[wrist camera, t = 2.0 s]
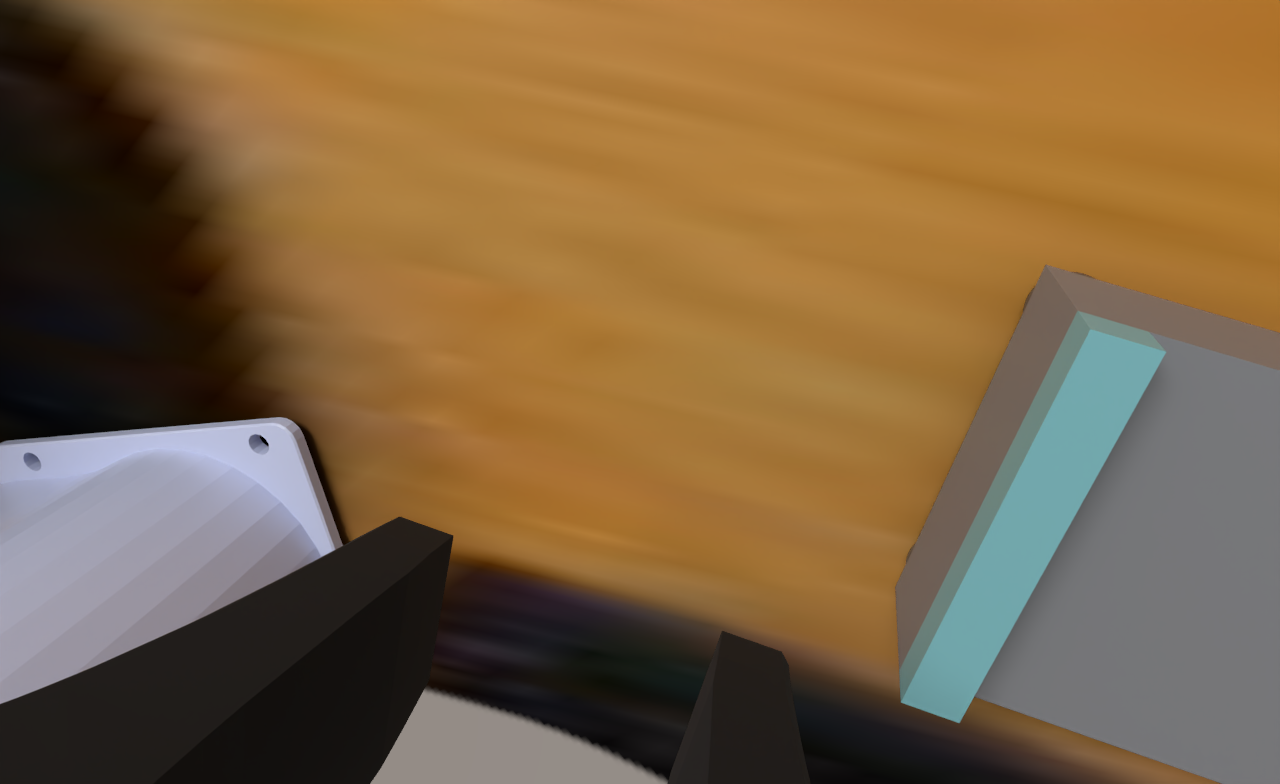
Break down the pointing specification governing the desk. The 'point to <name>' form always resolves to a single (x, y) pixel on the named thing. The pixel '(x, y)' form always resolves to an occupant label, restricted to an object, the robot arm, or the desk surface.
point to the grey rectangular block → (1112, 535)
